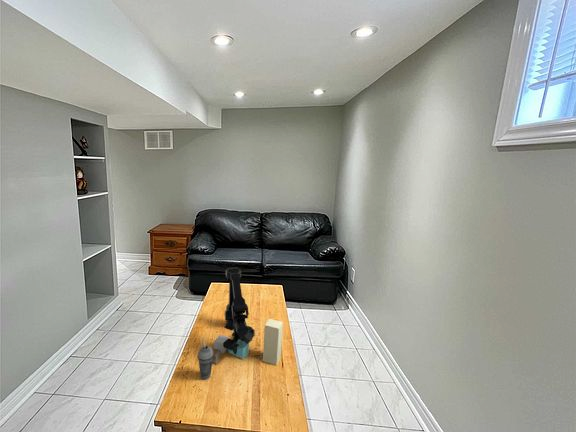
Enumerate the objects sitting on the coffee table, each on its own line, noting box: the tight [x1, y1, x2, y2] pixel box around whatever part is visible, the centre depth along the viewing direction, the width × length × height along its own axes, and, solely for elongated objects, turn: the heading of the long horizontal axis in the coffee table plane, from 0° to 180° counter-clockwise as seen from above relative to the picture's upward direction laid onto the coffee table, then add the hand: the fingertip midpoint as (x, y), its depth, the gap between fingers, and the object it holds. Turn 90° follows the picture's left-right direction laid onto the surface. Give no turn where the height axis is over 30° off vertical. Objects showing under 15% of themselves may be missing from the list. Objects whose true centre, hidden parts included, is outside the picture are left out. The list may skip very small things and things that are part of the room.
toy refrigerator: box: [262, 318, 284, 366], centre depth 140 cm, size 8×7×21 cm
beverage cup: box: [197, 337, 213, 381], centre depth 126 cm, size 7×7×20 cm
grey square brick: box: [213, 334, 230, 354], centre depth 147 cm, size 6×6×6 cm
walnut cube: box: [211, 347, 222, 366], centre depth 138 cm, size 5×5×5 cm
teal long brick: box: [227, 340, 250, 360], centre depth 144 cm, size 10×5×6 cm, turn 62°
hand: (238, 350), depth 145 cm, fingers closed on teal long brick, 5 cm apart
